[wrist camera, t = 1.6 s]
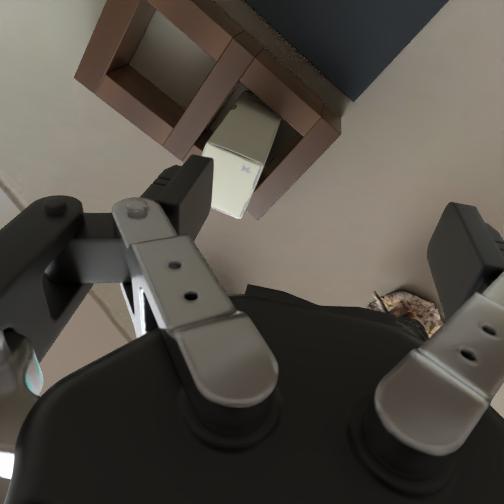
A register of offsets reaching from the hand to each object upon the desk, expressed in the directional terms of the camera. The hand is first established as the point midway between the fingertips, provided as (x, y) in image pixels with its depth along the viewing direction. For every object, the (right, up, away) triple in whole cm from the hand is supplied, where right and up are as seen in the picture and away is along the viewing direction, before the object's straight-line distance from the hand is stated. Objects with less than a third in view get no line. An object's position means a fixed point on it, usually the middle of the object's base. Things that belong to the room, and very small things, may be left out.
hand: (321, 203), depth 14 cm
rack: (-6, +13, +23) cm, 28 cm away
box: (-2, +11, +25) cm, 27 cm away
